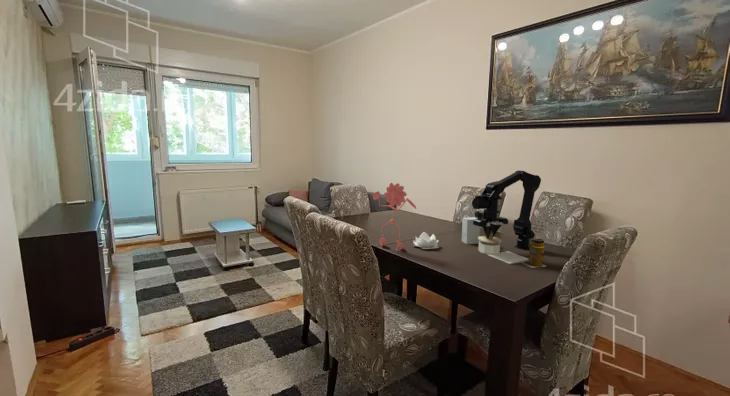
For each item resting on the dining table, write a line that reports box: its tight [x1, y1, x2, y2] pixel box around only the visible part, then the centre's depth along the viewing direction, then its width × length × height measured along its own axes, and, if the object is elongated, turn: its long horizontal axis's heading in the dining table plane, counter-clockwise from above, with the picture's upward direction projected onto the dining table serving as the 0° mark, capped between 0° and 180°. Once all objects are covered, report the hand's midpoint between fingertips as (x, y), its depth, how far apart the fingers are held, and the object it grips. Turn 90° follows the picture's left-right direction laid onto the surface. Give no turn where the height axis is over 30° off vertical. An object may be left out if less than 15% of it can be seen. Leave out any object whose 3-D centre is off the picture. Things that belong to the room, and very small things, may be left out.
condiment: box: [520, 237, 547, 269], centre depth 154 cm, size 7×8×12 cm
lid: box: [478, 232, 503, 244], centre depth 172 cm, size 12×12×4 cm
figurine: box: [372, 182, 417, 252], centre depth 175 cm, size 15×26×35 cm, turn 57°
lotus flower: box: [412, 231, 440, 250], centre depth 178 cm, size 14×15×9 cm
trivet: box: [486, 250, 529, 265], centre depth 164 cm, size 14×14×1 cm
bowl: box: [478, 241, 501, 255], centre depth 173 cm, size 10×10×5 cm
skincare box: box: [461, 216, 481, 245], centre depth 187 cm, size 8×6×15 cm
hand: (489, 237), depth 172 cm, fingers closed on lid, 3 cm apart
